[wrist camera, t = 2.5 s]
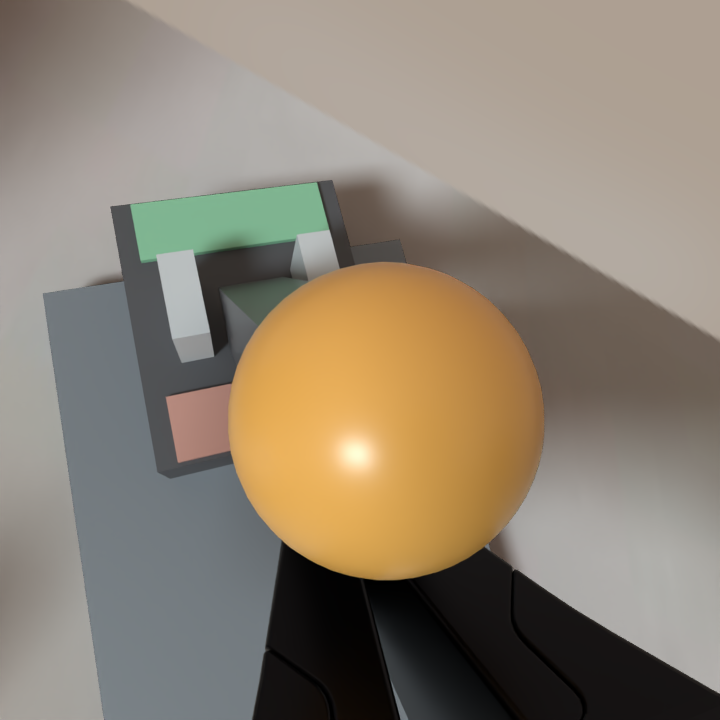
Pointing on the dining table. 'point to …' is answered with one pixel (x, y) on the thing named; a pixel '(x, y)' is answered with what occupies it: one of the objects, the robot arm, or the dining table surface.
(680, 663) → the dining table surface
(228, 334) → the lever
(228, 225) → the switch box
